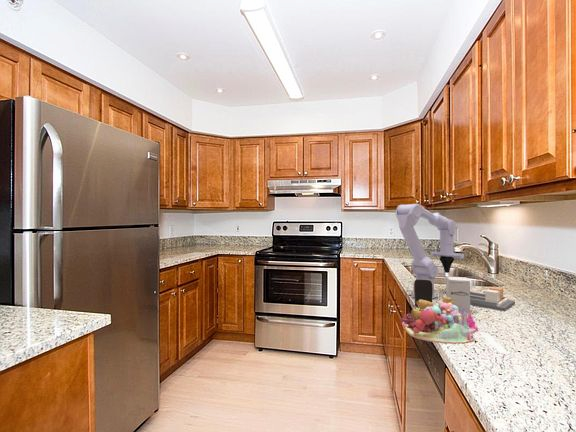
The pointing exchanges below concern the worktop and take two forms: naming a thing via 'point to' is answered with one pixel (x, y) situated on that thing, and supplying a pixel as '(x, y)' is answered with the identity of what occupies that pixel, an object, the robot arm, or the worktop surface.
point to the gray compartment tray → (479, 300)
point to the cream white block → (492, 296)
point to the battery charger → (423, 290)
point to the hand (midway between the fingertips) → (447, 272)
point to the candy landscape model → (440, 322)
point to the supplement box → (459, 292)
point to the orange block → (498, 290)
